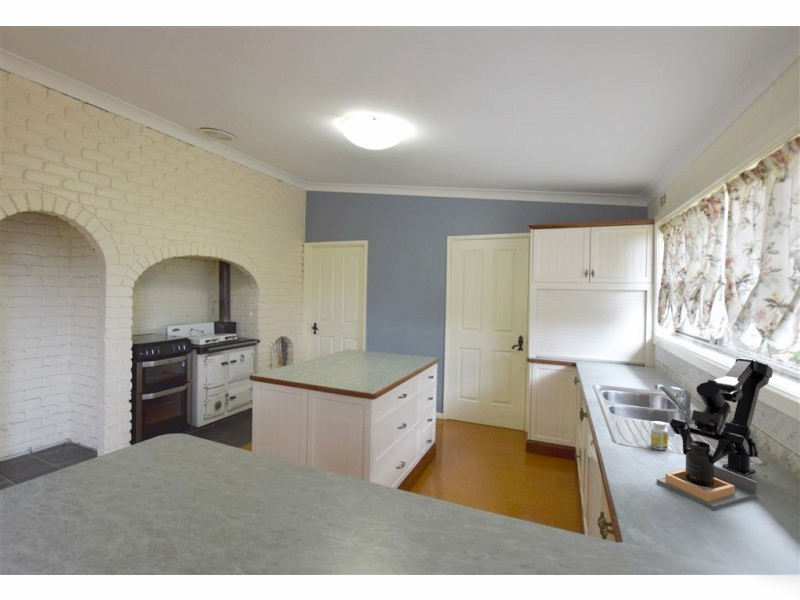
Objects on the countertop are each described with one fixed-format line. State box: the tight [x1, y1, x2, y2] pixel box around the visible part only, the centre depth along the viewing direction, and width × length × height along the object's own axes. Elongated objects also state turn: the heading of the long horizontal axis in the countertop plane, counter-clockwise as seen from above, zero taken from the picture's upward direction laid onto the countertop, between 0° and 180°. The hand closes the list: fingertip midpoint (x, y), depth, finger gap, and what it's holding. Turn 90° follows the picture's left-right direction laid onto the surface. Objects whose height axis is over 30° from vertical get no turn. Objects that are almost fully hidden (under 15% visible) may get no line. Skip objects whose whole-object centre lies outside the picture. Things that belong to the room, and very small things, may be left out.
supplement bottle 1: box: [650, 420, 669, 451], centre depth 147 cm, size 5×5×10 cm
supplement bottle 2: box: [685, 440, 715, 487], centre depth 114 cm, size 7×7×12 cm
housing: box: [656, 464, 759, 511], centre depth 115 cm, size 20×16×5 cm
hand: (697, 458), depth 113 cm, fingers closed on supplement bottle 2, 7 cm apart
